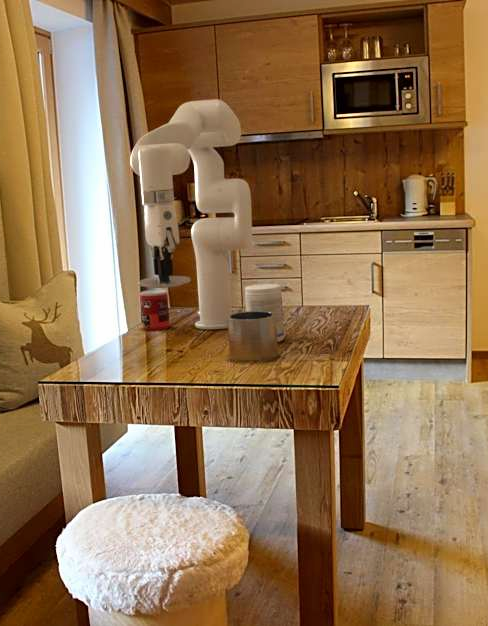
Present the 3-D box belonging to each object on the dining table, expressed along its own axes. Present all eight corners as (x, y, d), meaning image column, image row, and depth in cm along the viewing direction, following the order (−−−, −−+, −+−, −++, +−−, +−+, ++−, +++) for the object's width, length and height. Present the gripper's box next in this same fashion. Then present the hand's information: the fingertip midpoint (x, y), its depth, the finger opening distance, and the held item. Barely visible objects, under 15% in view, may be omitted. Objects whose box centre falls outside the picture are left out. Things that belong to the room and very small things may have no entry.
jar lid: (129, 285, 202) (127, 257, 201) (177, 278, 208) (175, 251, 207) (150, 291, 191) (148, 261, 190) (200, 284, 197) (198, 255, 195)
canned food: (142, 326, 250) (139, 290, 248) (169, 324, 250) (166, 288, 248) (143, 331, 242) (140, 294, 240) (170, 329, 243) (167, 292, 241)
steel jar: (221, 357, 204) (218, 315, 202) (261, 350, 209) (259, 309, 207) (244, 366, 194) (242, 322, 192) (286, 358, 199) (284, 315, 197)
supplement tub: (291, 340, 217) (289, 285, 215) (263, 346, 212) (260, 290, 210) (268, 335, 226) (265, 282, 223) (240, 341, 220) (237, 287, 218)
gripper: (187, 197, 190) (192, 276, 194) (158, 196, 204) (164, 269, 208) (157, 200, 187) (163, 280, 190) (130, 198, 201) (136, 273, 205)
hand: (163, 274), depth 199 cm, fingers closed on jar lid, 2 cm apart
